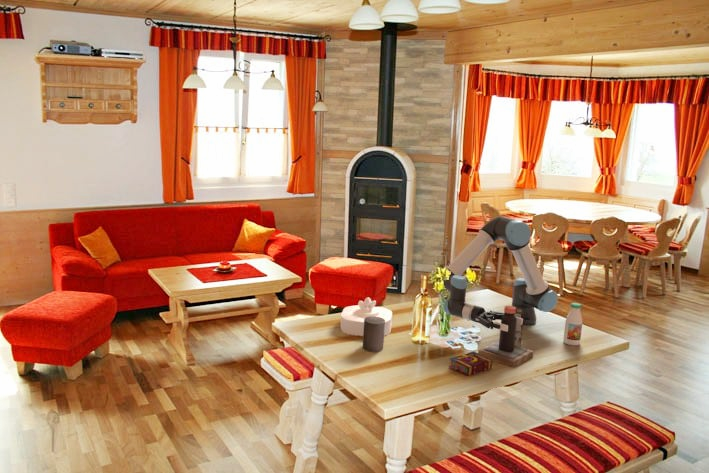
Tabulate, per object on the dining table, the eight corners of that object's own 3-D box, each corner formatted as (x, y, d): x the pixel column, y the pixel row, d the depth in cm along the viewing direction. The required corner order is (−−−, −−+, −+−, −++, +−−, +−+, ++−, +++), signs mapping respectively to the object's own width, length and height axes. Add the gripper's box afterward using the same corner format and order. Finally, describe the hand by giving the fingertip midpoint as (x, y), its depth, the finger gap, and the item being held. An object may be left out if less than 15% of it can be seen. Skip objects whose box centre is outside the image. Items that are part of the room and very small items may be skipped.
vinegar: (513, 352, 279) (517, 310, 275) (498, 350, 281) (502, 308, 277) (513, 347, 286) (518, 305, 282) (498, 345, 287) (502, 304, 283)
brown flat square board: (497, 345, 296) (498, 339, 295) (532, 356, 284) (533, 350, 284) (477, 355, 283) (478, 348, 282) (513, 367, 271) (514, 360, 271)
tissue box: (345, 317, 327) (346, 288, 324) (392, 321, 324) (394, 292, 321) (337, 334, 303) (339, 302, 299) (389, 338, 300) (390, 306, 296)
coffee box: (520, 346, 296) (524, 314, 293) (507, 344, 298) (510, 312, 294) (519, 339, 305) (523, 308, 302) (506, 338, 306) (509, 306, 303)
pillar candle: (359, 349, 284) (361, 318, 281) (366, 342, 293) (368, 312, 290) (379, 353, 281) (381, 322, 277) (386, 346, 290) (388, 315, 286)
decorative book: (492, 369, 269) (493, 359, 268) (465, 377, 259) (466, 366, 258) (472, 360, 278) (473, 350, 277) (446, 368, 268) (447, 357, 267)
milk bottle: (560, 342, 303) (565, 303, 299) (567, 338, 309) (571, 300, 305) (575, 347, 298) (580, 307, 294) (582, 343, 304) (587, 304, 300)
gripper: (487, 315, 302) (527, 326, 288) (458, 326, 284) (500, 339, 270) (488, 300, 300) (528, 311, 287) (460, 311, 282) (501, 323, 268)
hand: (515, 325), depth 278 cm, fingers open, 13 cm apart
